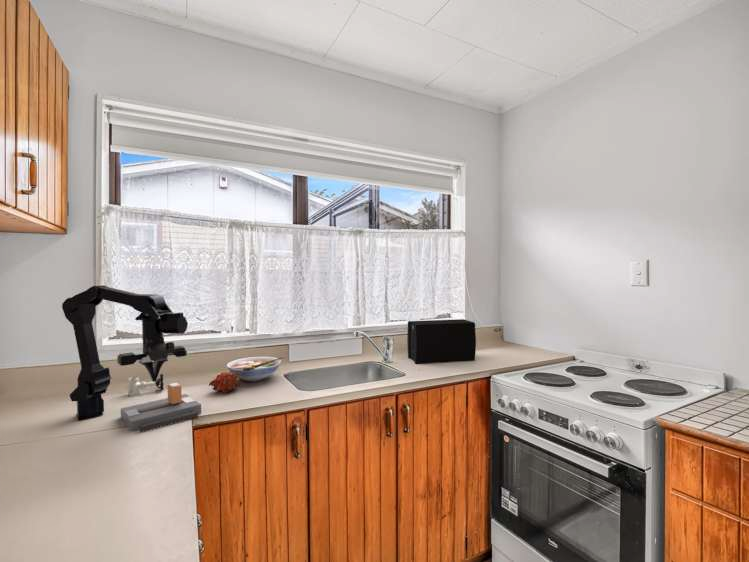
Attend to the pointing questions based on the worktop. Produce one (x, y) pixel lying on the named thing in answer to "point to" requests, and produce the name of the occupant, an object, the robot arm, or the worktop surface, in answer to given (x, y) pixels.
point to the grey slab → (168, 421)
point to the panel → (157, 411)
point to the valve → (142, 385)
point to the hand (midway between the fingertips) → (154, 381)
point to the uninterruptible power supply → (441, 341)
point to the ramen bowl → (254, 367)
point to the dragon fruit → (226, 382)
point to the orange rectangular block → (174, 393)
